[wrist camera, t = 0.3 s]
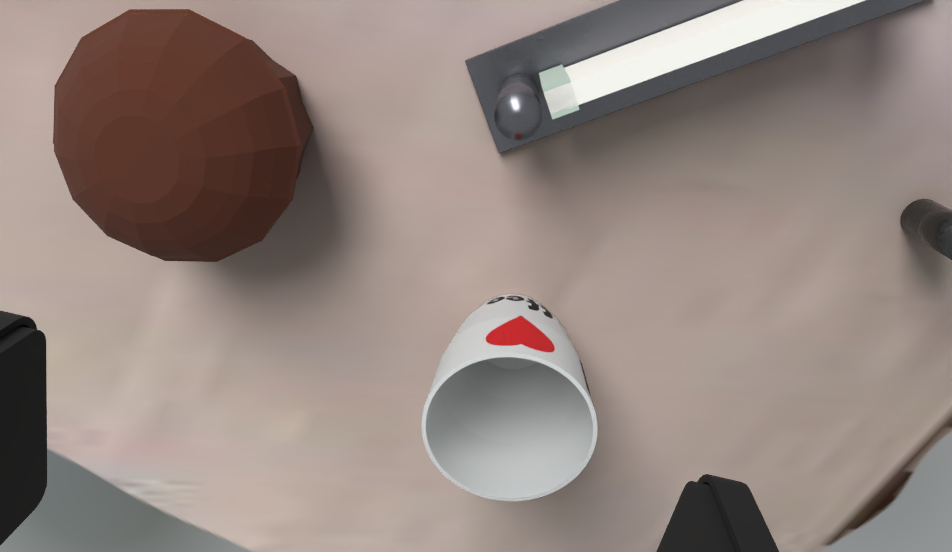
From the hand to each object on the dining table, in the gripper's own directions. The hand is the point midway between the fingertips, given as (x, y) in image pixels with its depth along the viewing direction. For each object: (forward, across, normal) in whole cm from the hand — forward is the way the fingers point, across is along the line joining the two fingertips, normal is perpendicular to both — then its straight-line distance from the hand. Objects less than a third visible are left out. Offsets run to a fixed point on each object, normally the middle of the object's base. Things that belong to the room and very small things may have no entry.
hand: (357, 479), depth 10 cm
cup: (+29, -5, +11) cm, 32 cm away
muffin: (+29, +13, +3) cm, 32 cm away
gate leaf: (+28, -9, -7) cm, 30 cm away
